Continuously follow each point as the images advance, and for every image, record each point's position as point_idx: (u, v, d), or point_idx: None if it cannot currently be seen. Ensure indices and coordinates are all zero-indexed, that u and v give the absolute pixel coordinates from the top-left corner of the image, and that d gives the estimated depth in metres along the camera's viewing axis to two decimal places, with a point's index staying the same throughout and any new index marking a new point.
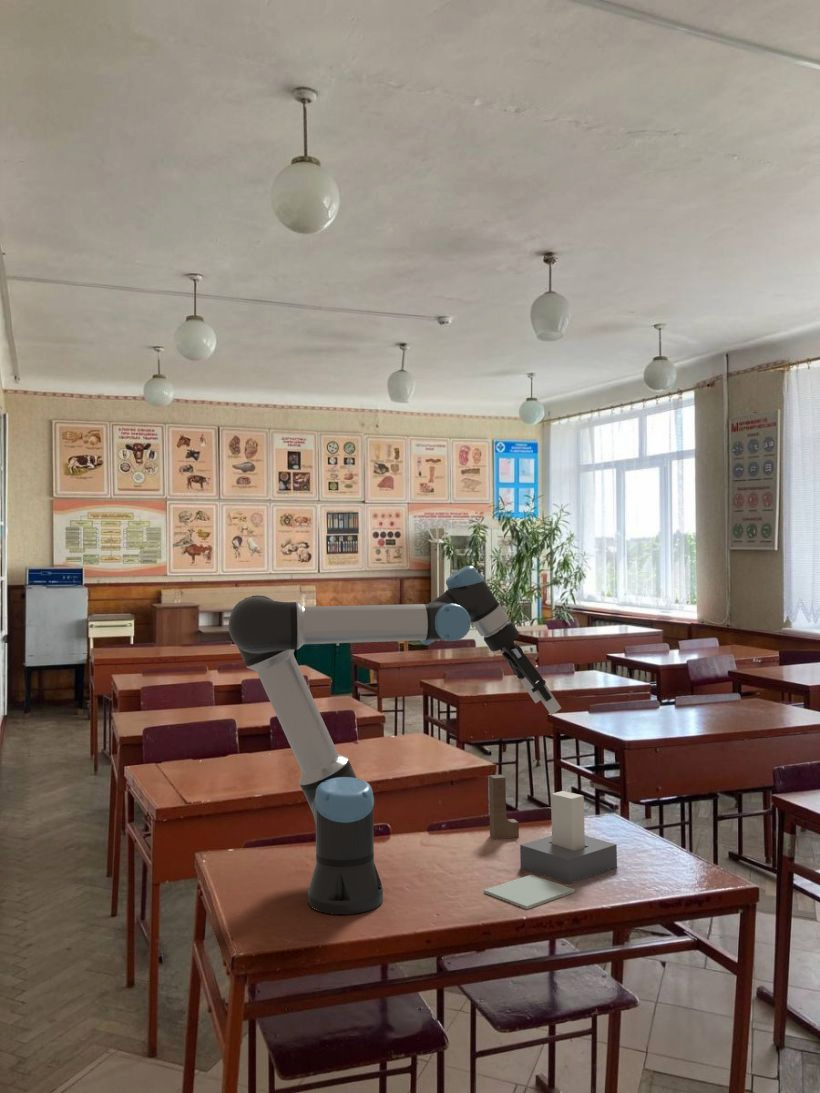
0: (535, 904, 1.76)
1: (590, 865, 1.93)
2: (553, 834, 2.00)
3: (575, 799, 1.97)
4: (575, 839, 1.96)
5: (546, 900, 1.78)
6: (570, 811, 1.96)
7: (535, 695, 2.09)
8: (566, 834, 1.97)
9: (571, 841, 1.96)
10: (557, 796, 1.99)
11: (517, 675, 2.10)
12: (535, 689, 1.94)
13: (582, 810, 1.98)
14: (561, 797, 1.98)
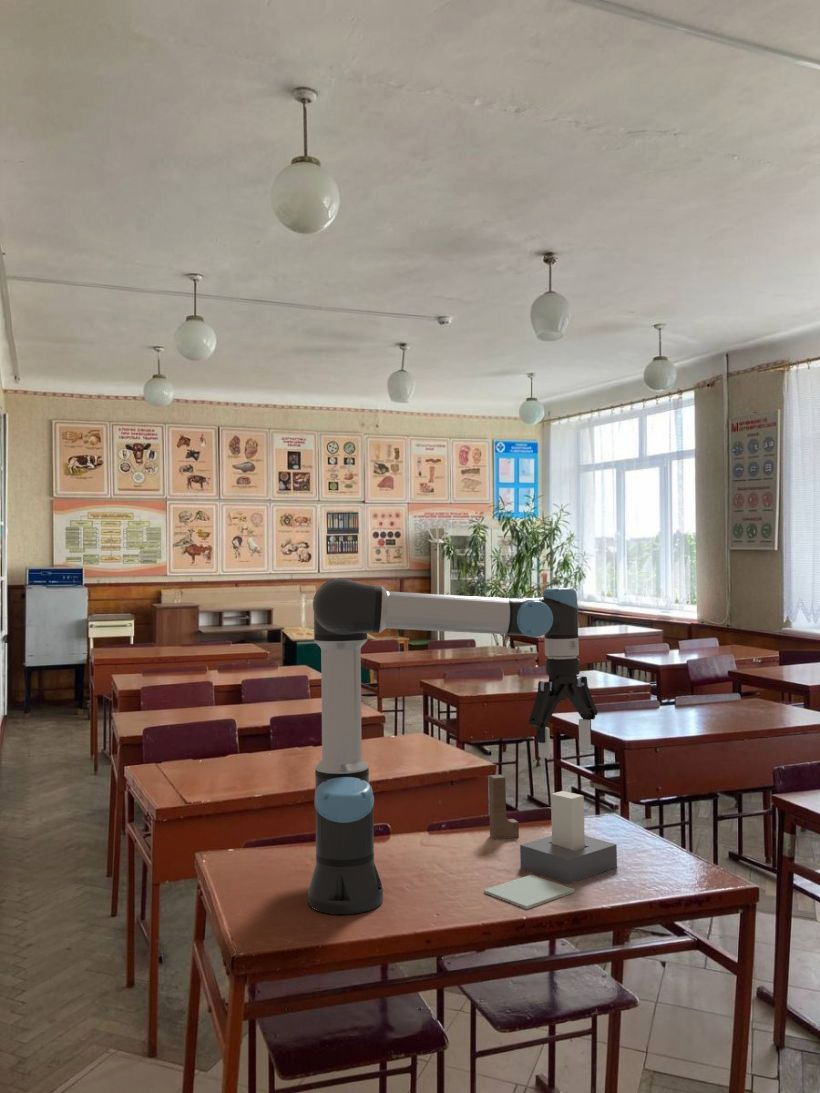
0: (535, 904, 1.76)
1: (590, 865, 1.93)
2: (553, 834, 2.00)
3: (575, 799, 1.97)
4: (575, 839, 1.96)
5: (546, 900, 1.78)
6: (570, 811, 1.96)
7: (582, 741, 2.04)
8: (566, 834, 1.97)
9: (571, 841, 1.96)
10: (557, 796, 1.99)
11: None
12: None
13: (582, 810, 1.98)
14: (561, 797, 1.98)
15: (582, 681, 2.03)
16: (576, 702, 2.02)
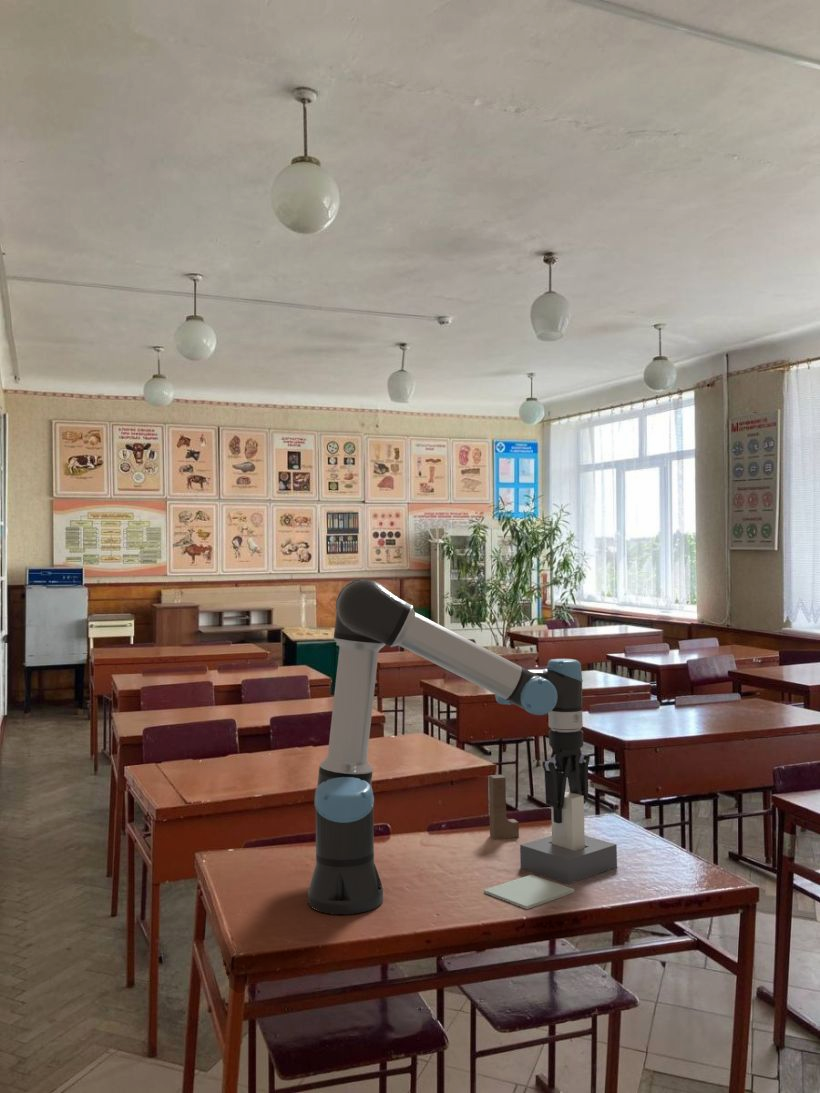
0: (535, 904, 1.76)
1: (590, 865, 1.93)
2: (553, 834, 2.00)
3: (575, 799, 1.97)
4: (575, 839, 1.96)
5: (546, 900, 1.78)
6: (570, 811, 1.96)
7: None
8: None
9: (571, 841, 1.96)
10: None
11: None
12: None
13: (582, 810, 1.98)
14: None
15: (584, 758, 2.02)
16: (572, 779, 2.00)
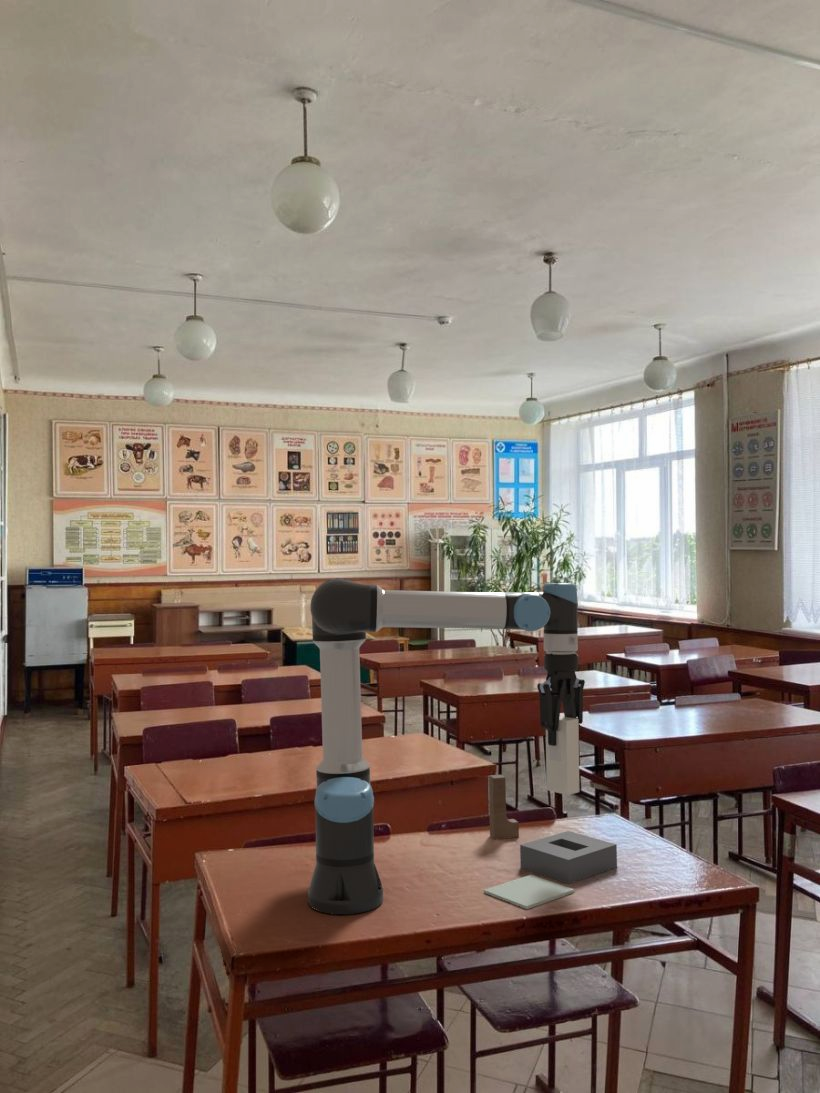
0: (535, 904, 1.76)
1: (590, 865, 1.93)
2: (547, 758, 1.99)
3: (570, 721, 1.96)
4: (570, 761, 1.96)
5: (546, 900, 1.78)
6: (565, 734, 1.95)
7: None
8: None
9: (565, 763, 1.95)
10: None
11: None
12: (546, 729, 1.97)
13: (577, 733, 1.97)
14: None
15: (579, 683, 2.02)
16: (567, 703, 2.00)
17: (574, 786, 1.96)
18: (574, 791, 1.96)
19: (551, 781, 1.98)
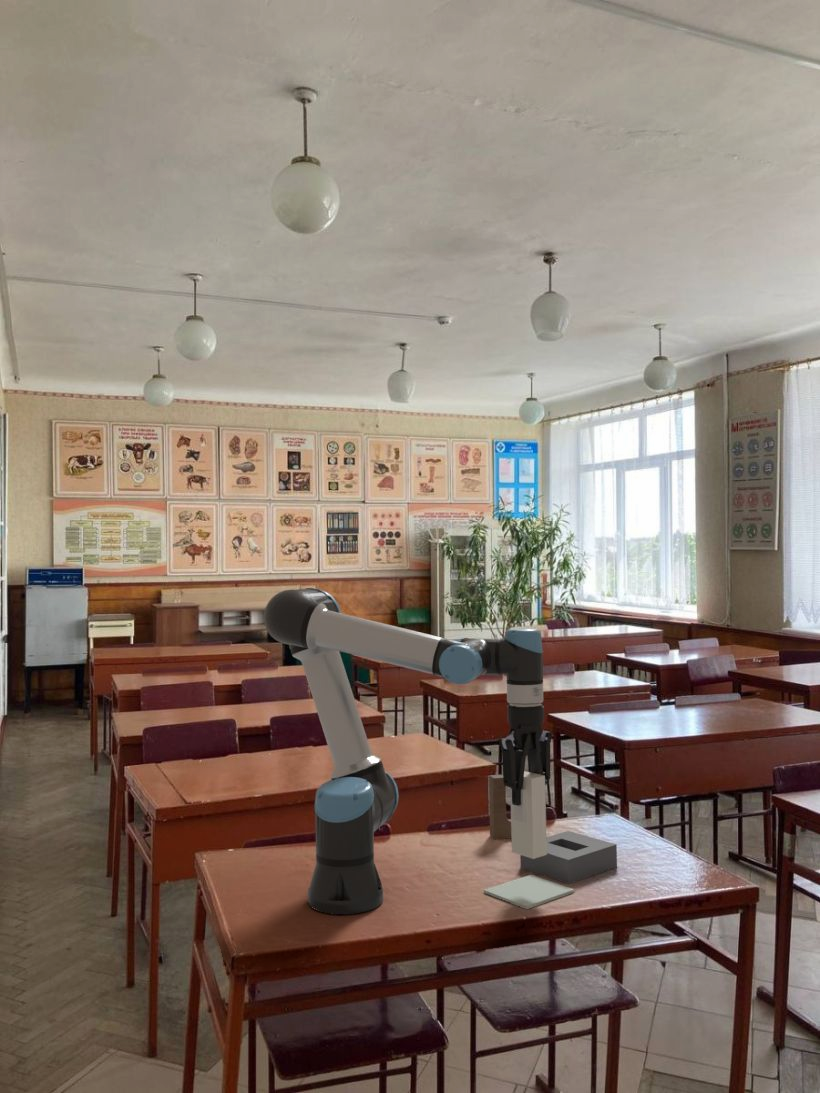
0: (535, 904, 1.76)
1: (590, 865, 1.93)
2: (512, 817, 1.85)
3: (535, 779, 1.82)
4: (536, 822, 1.81)
5: (546, 900, 1.78)
6: (530, 792, 1.81)
7: None
8: None
9: (531, 825, 1.81)
10: None
11: None
12: (510, 787, 1.83)
13: (543, 791, 1.83)
14: None
15: (546, 736, 1.87)
16: (533, 758, 1.85)
17: (540, 848, 1.82)
18: (541, 854, 1.82)
19: (516, 843, 1.84)
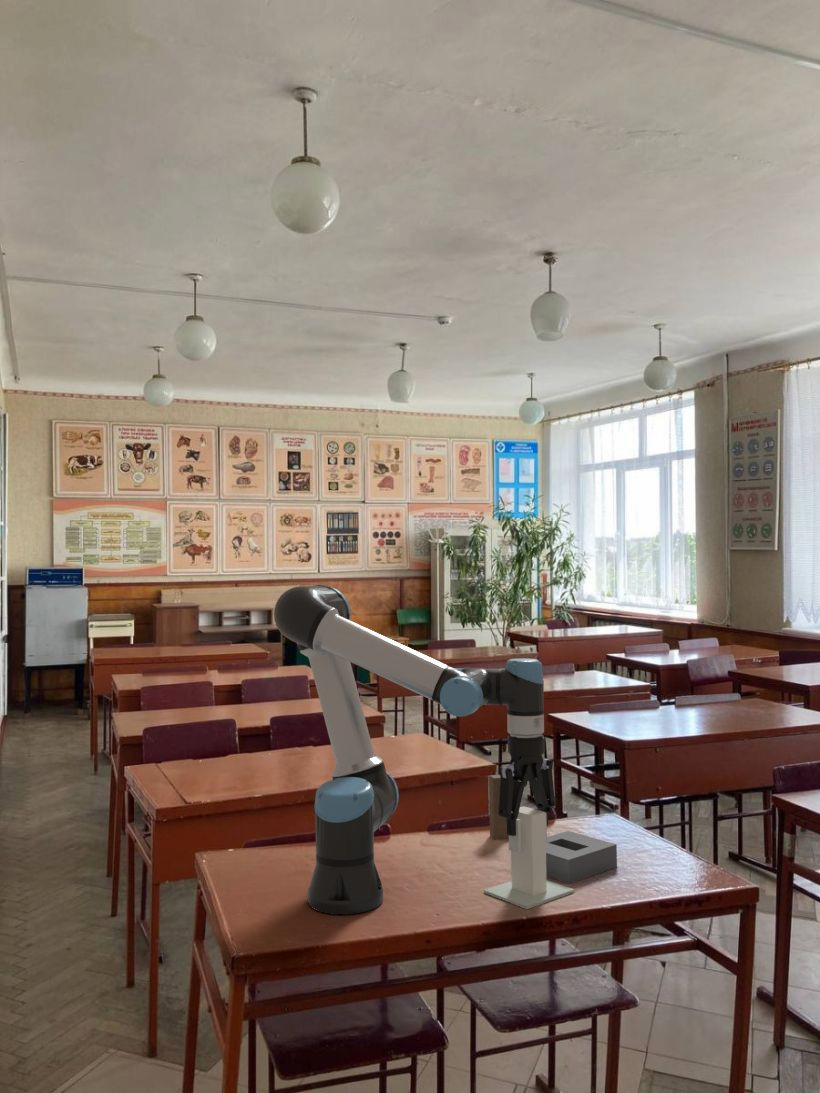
0: (535, 904, 1.76)
1: (590, 865, 1.93)
2: (512, 853, 1.85)
3: (535, 816, 1.81)
4: (536, 859, 1.81)
5: (546, 900, 1.78)
6: (530, 829, 1.81)
7: None
8: (525, 853, 1.82)
9: (531, 861, 1.81)
10: None
11: None
12: None
13: (543, 828, 1.83)
14: (521, 814, 1.83)
15: (547, 764, 1.87)
16: (536, 787, 1.86)
17: (540, 885, 1.82)
18: (541, 891, 1.82)
19: (516, 879, 1.84)
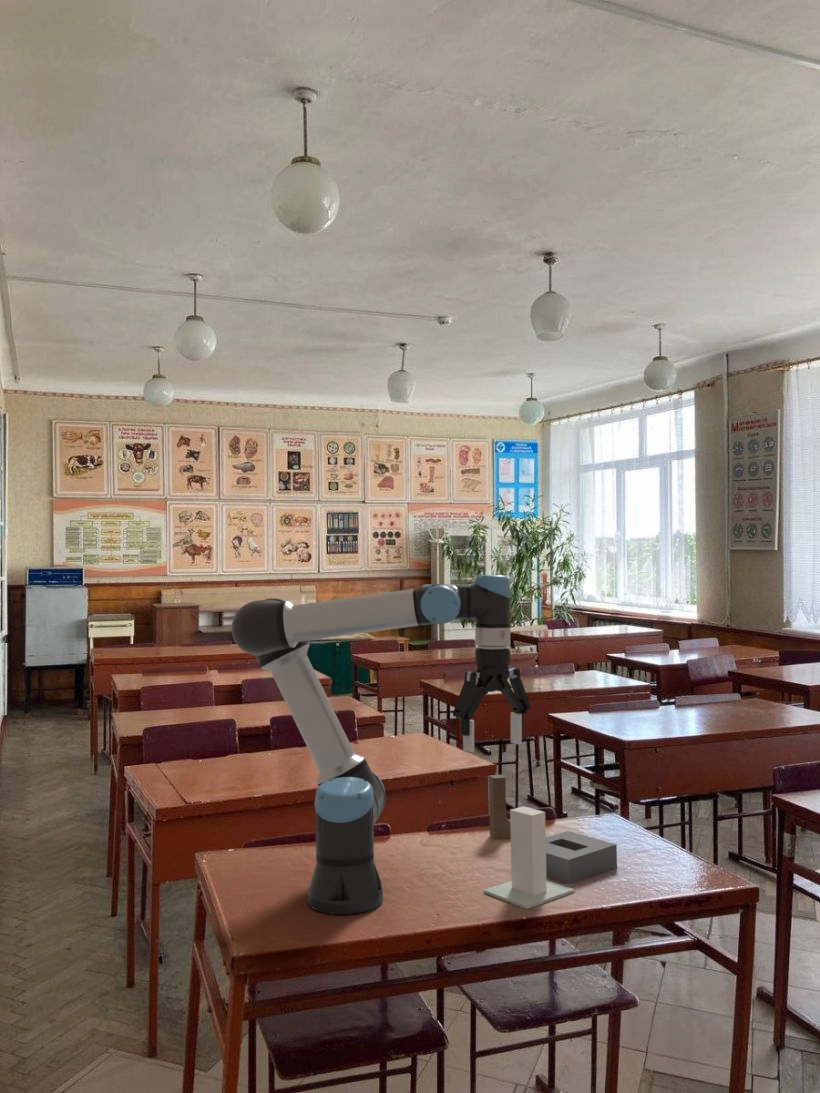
0: (535, 904, 1.76)
1: (590, 865, 1.93)
2: (512, 853, 1.85)
3: (535, 816, 1.81)
4: (536, 859, 1.81)
5: (546, 900, 1.78)
6: (530, 829, 1.81)
7: (513, 736, 1.96)
8: (525, 853, 1.82)
9: (531, 861, 1.81)
10: (516, 812, 1.84)
11: None
12: None
13: (543, 828, 1.83)
14: (521, 814, 1.83)
15: (514, 673, 1.94)
16: (507, 695, 1.94)
17: (540, 885, 1.82)
18: (541, 891, 1.82)
19: (516, 879, 1.84)
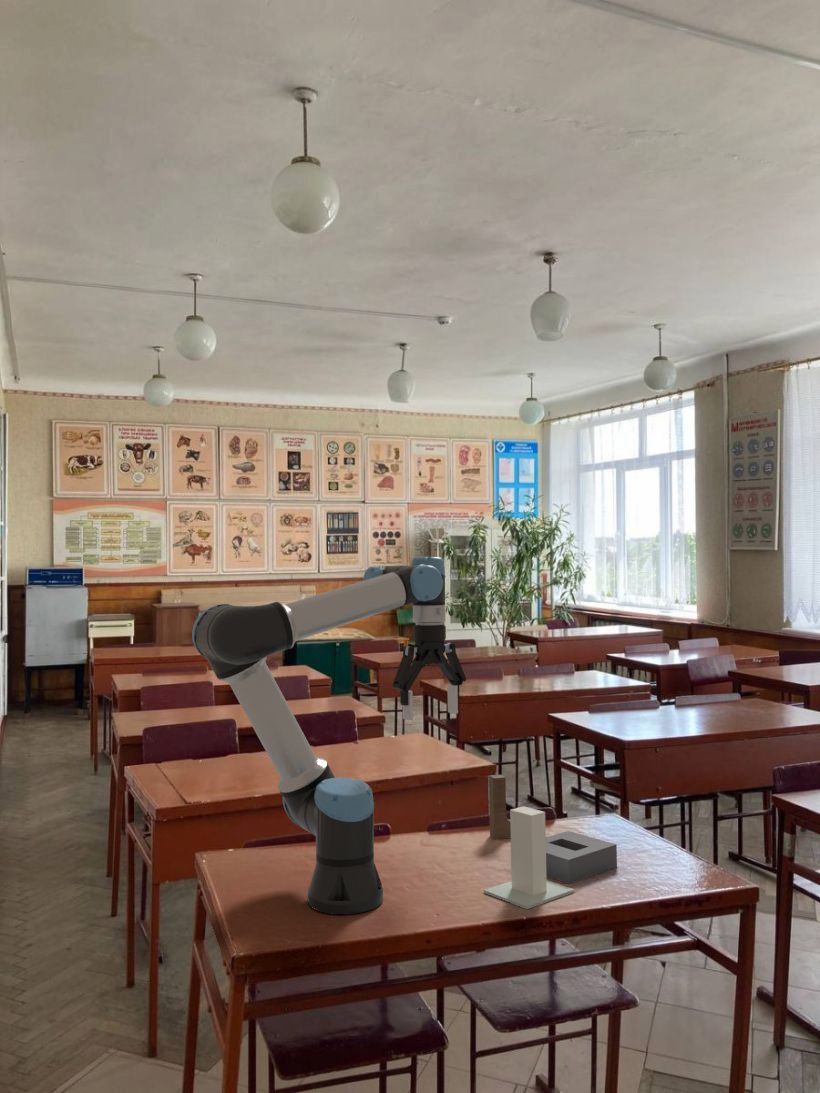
0: (535, 904, 1.76)
1: (590, 865, 1.93)
2: (512, 853, 1.85)
3: (535, 816, 1.81)
4: (536, 859, 1.81)
5: (546, 900, 1.78)
6: (530, 829, 1.81)
7: (450, 706, 2.11)
8: (525, 853, 1.82)
9: (531, 861, 1.81)
10: (516, 812, 1.84)
11: None
12: None
13: (543, 828, 1.83)
14: (521, 814, 1.83)
15: (450, 648, 2.10)
16: (443, 668, 2.09)
17: (540, 885, 1.82)
18: (541, 891, 1.82)
19: (516, 879, 1.84)
